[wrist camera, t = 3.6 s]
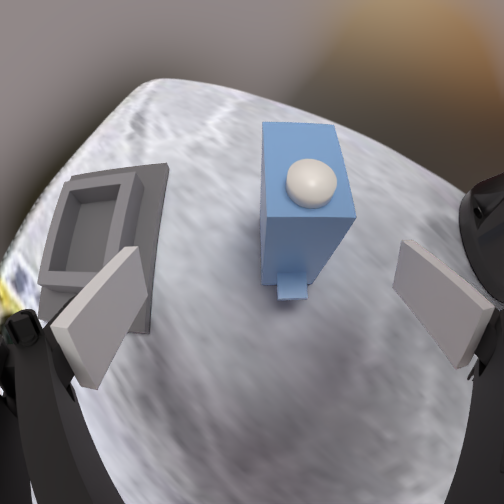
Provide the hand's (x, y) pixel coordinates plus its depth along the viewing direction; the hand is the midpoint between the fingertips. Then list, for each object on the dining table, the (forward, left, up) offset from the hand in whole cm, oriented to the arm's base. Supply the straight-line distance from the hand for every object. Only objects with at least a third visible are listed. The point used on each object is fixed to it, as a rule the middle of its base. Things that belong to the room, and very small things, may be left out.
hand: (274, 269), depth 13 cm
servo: (-3, -4, -9) cm, 10 cm away
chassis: (+12, -12, -9) cm, 19 cm away
